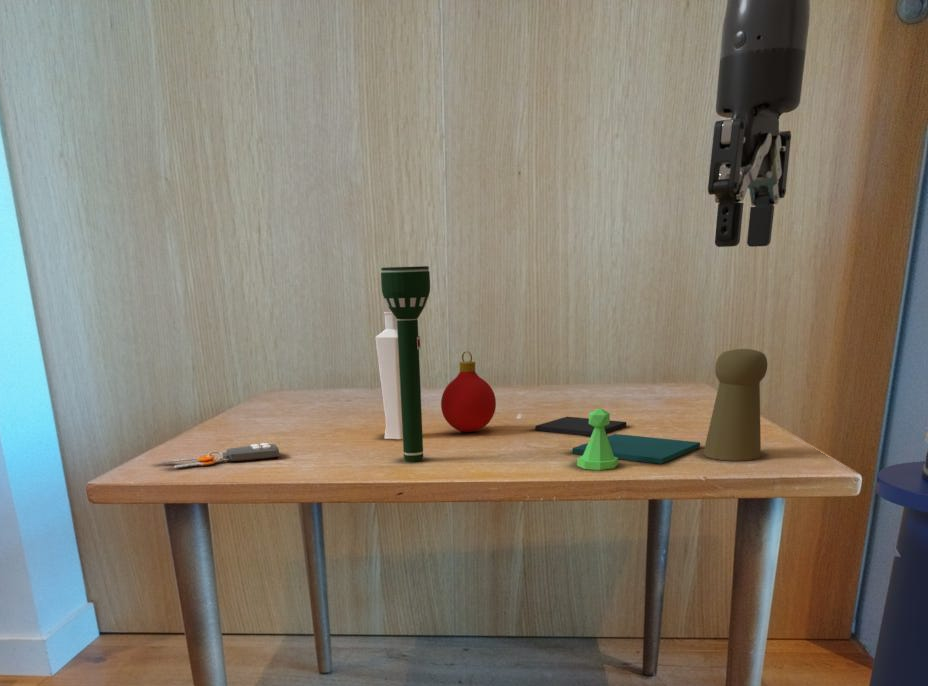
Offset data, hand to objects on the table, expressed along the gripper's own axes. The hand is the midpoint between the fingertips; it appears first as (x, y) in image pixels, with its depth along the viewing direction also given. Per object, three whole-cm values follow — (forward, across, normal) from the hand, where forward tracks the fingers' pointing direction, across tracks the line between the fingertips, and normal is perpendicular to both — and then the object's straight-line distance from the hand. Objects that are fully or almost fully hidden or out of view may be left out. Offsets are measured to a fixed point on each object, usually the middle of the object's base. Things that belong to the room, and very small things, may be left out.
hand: (743, 246), depth 85 cm
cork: (+21, +1, -1) cm, 21 cm away
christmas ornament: (+21, -2, +33) cm, 39 cm away
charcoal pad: (+21, +7, +22) cm, 31 cm away
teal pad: (+21, -2, +9) cm, 23 cm away
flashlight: (+21, -19, +28) cm, 40 cm away
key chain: (+21, -31, +47) cm, 60 cm away
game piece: (+21, -11, +9) cm, 26 cm away
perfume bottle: (+21, -9, +39) cm, 45 cm away
